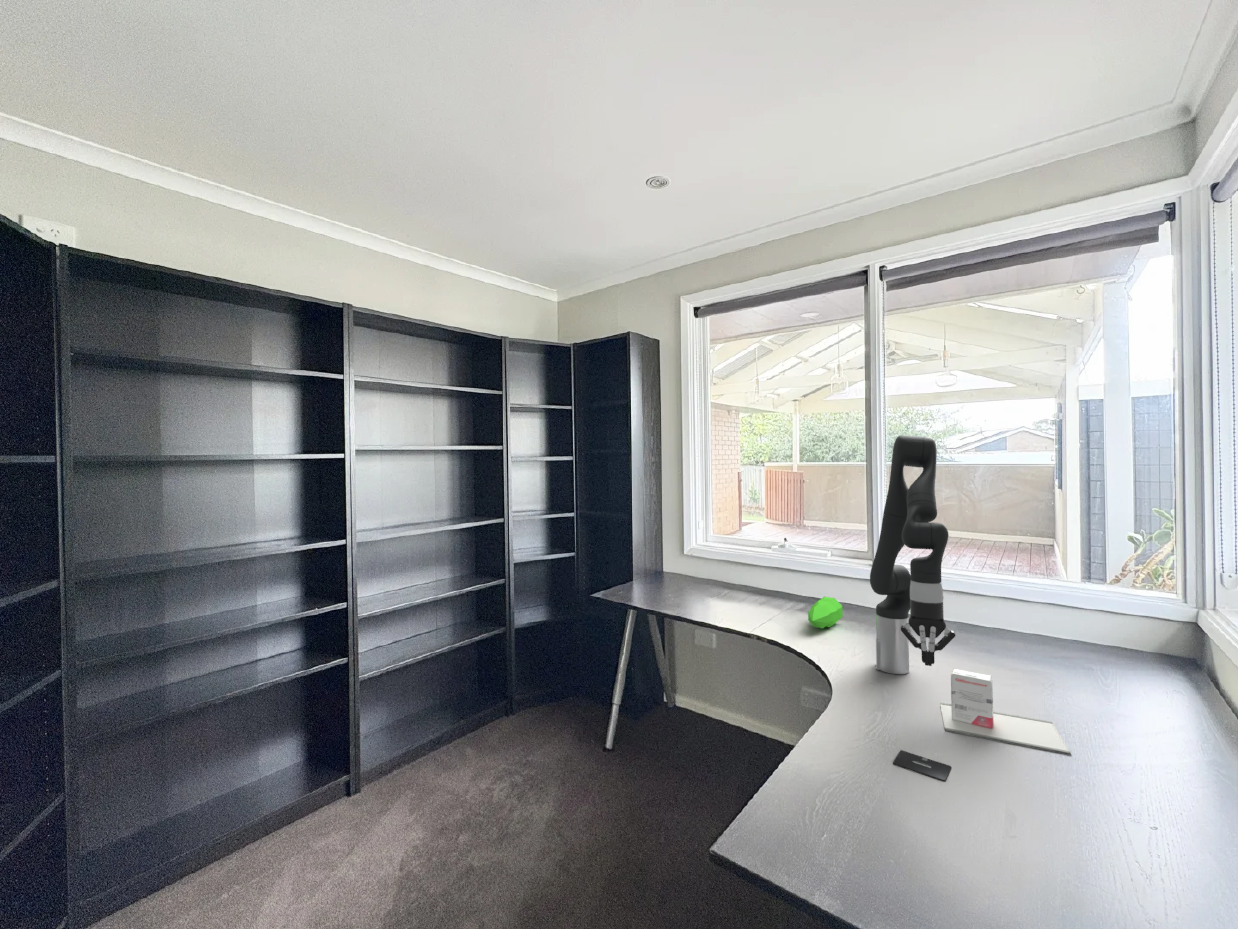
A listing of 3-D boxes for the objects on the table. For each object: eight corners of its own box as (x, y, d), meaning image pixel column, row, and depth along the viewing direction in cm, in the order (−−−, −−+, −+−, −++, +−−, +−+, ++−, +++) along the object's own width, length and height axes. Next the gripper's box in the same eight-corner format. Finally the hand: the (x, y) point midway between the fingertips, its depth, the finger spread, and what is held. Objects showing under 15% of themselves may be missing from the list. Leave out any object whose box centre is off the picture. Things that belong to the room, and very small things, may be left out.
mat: (945, 731, 128) (945, 728, 128) (940, 704, 142) (940, 702, 142) (1070, 755, 117) (1070, 753, 117) (1051, 723, 131) (1051, 721, 131)
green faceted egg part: (841, 590, 222) (820, 603, 198) (852, 617, 219) (832, 633, 195) (815, 597, 228) (792, 610, 204) (826, 623, 225) (803, 639, 201)
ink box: (994, 722, 132) (993, 675, 132) (993, 730, 128) (992, 681, 128) (953, 712, 137) (952, 667, 137) (951, 719, 133) (950, 673, 133)
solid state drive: (900, 752, 119) (900, 749, 120) (951, 769, 113) (951, 766, 113) (892, 765, 114) (892, 762, 114) (945, 784, 108) (945, 780, 108)
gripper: (954, 597, 137) (956, 664, 137) (897, 593, 143) (899, 656, 143) (957, 604, 131) (959, 673, 130) (898, 599, 137) (899, 665, 136)
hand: (928, 664), depth 137 cm, fingers closed
